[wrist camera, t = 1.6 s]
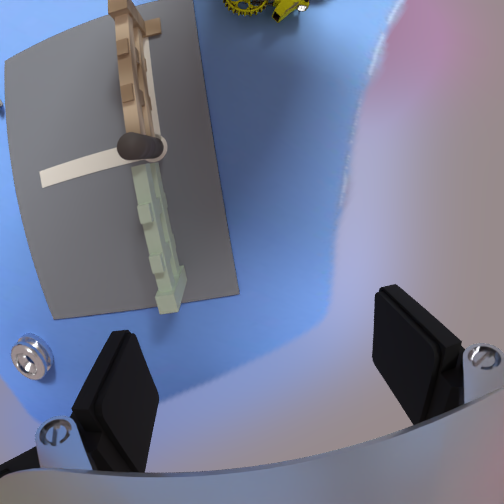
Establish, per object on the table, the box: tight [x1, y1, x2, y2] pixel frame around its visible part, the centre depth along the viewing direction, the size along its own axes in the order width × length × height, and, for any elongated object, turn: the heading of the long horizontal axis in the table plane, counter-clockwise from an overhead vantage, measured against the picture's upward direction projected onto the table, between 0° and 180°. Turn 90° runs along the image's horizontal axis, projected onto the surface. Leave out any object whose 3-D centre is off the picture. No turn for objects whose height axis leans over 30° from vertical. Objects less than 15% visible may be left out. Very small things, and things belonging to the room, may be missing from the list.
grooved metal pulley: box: [11, 333, 54, 380], centre depth 28 cm, size 5×3×5 cm
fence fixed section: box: [108, 0, 164, 160], centre depth 20 cm, size 13×4×7 cm, turn 9°
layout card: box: [5, 0, 240, 319], centre depth 24 cm, size 20×28×1 cm
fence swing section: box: [131, 162, 187, 314], centre depth 23 cm, size 10×1×6 cm, turn 9°
